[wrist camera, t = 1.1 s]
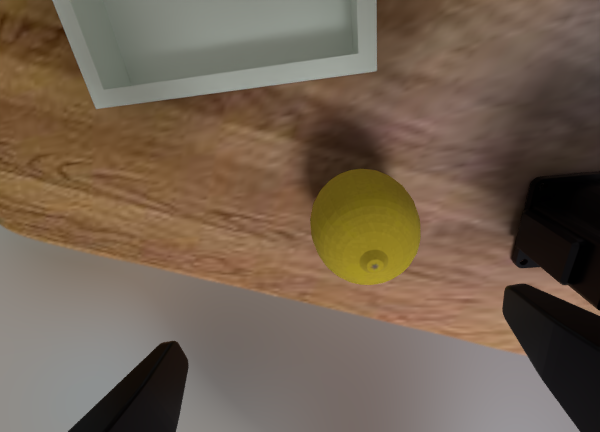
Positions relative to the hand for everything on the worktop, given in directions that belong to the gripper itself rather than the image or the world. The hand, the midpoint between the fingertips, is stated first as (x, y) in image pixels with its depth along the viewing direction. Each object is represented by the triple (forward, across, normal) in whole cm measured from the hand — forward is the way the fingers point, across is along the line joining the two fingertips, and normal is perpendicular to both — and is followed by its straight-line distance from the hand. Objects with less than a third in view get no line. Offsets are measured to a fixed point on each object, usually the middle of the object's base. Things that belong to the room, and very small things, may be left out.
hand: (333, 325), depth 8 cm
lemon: (+12, -2, +2) cm, 12 cm away
